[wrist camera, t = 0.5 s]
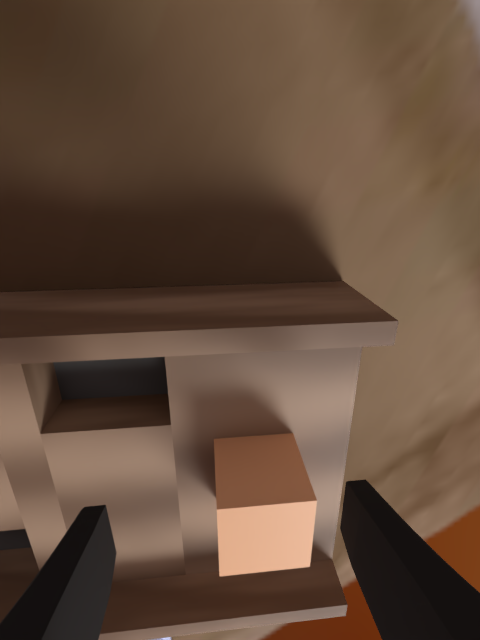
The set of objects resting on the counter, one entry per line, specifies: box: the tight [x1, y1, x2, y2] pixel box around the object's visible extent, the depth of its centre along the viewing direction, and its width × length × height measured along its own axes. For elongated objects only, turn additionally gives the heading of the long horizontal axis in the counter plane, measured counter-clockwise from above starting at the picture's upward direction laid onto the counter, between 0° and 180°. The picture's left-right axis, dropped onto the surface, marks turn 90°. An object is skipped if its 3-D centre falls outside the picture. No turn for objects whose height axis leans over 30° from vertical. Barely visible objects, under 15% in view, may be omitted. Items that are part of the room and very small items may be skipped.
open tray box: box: [0, 281, 398, 640], centre depth 17 cm, size 18×30×6 cm, turn 90°
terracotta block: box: [214, 433, 317, 577], centre depth 16 cm, size 4×4×4 cm
